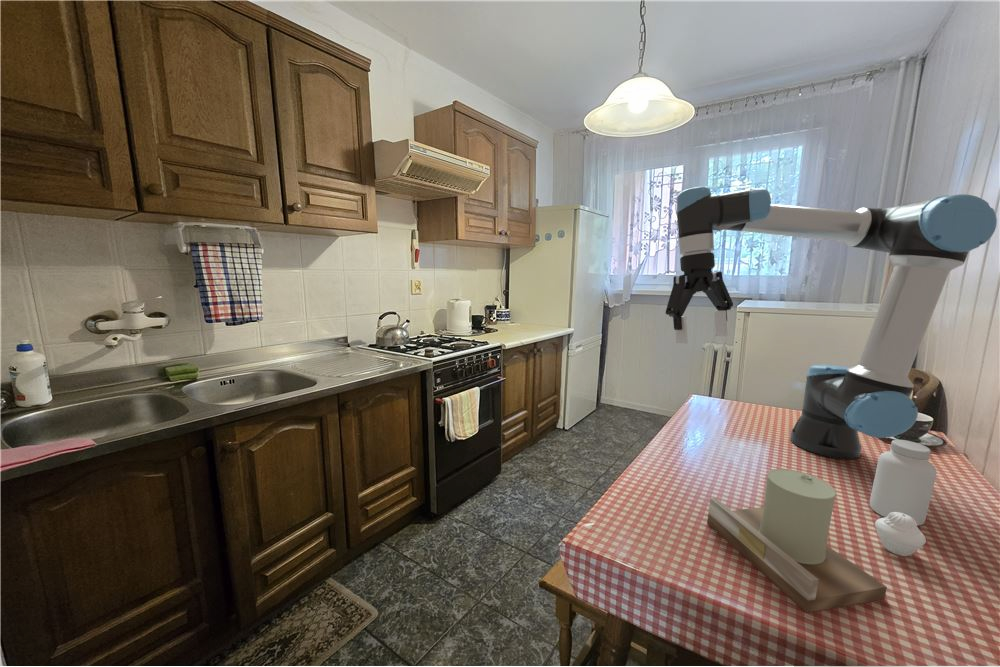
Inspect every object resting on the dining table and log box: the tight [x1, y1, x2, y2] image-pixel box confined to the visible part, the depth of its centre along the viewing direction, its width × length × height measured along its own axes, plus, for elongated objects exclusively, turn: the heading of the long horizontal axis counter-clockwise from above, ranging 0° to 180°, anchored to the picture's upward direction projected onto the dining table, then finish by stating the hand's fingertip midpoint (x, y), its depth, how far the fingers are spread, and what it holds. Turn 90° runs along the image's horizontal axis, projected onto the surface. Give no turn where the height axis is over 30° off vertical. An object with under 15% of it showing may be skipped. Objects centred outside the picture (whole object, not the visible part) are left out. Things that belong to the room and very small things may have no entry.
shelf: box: [707, 497, 888, 614], centre depth 66 cm, size 14×20×5 cm
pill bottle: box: [869, 439, 937, 527], centre depth 77 cm, size 8×8×15 cm
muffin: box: [874, 512, 927, 557], centre depth 67 cm, size 6×6×7 cm
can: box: [759, 468, 837, 565], centre depth 65 cm, size 9×9×12 cm
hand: (702, 339), depth 97 cm, fingers open, 13 cm apart
